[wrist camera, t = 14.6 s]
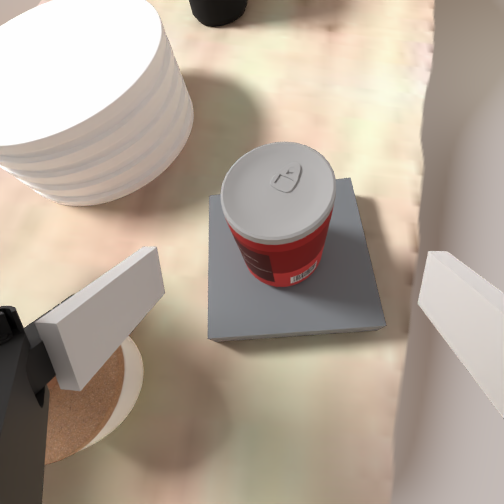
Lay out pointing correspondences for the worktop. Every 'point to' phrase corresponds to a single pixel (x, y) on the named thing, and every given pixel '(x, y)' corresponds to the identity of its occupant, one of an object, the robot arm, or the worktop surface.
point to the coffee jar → (217, 11)
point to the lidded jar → (93, 404)
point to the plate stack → (90, 99)
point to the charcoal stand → (299, 295)
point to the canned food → (280, 210)
